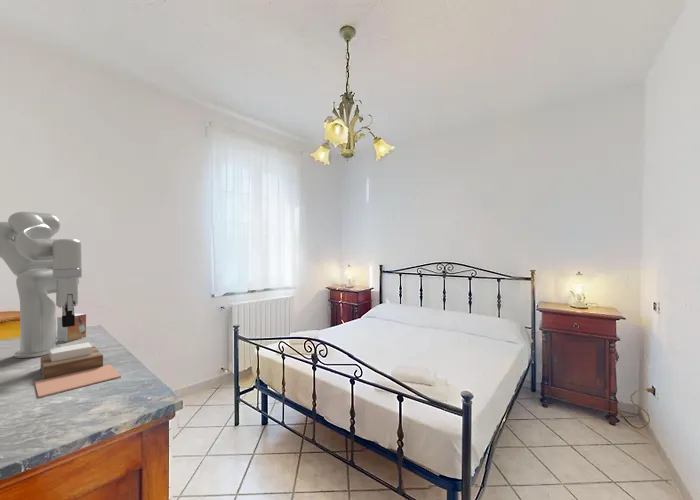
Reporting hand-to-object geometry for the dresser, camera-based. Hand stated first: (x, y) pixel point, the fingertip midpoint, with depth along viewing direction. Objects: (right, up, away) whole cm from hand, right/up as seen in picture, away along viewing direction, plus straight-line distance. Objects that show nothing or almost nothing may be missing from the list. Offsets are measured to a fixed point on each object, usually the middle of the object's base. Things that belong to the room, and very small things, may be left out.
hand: (68, 326), depth 110 cm
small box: (-23, -13, +27) cm, 37 cm away
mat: (+18, -12, -16) cm, 27 cm away
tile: (+6, -7, -6) cm, 11 cm away
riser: (+7, -12, -6) cm, 16 cm away
